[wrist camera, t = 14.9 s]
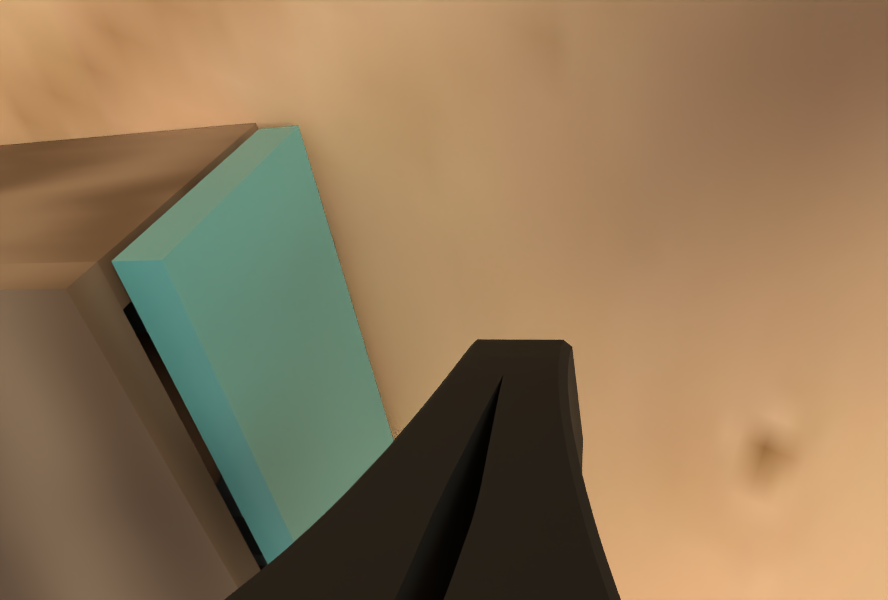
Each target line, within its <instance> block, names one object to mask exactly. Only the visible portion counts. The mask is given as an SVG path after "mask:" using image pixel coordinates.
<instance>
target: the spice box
mask: <svg viewBox="0 0 888 600" xmlns="http://www.w3.org/2000/svg"><path fill="white" fill-rule="evenodd" d="M257 130H258V129H257V126H256V123H252V124H240V125H229V126H218V127H206V128H195V129H184V130H172V131H161V132H149V133H138V134H127V135H115V136H104V137H93V138H81V139H70V140H59V141H47V142H36V143H24V144H13V145H2V146H0V600H224V599H226V598H227V597H228V596H229V595H231V594H232V593H233V592H234V591H236V590H237V589H238V588H239V587H241V586H242V585H243V584H244V583H246V582H247V581H248V580H249V579H251V578H252V577H253V576H254V575H256V574H257V573H258V572H259V571H260V570H262V569H263V568H264V567H265V566H262V565H258V564H257V562H256V560H255V559H254V557H253V555H252V553H251V551H250V549H249V547H248V545H247V544H246V542H245V540H244V538H243V536H242V534H241V532H240V530H239V528H238V527H237V525H236V523H235V521H234V519H233V517H232V515H231V513H230V511H229V510H228V508H227V506H226V504H225V502H224V500H223V498H222V496H221V494H220V493H219V491H218V489H217V487H216V485H215V483H214V481H213V479H212V477H211V476H210V474H209V472H208V470H207V468H206V466H205V464H204V462H203V461H202V459H201V457H200V455H199V453H198V451H197V449H196V447H195V445H194V444H193V442H192V440H191V438H190V436H189V434H188V432H187V430H186V428H185V427H184V425H183V423H182V421H181V419H180V417H179V415H178V413H177V411H176V410H175V408H174V406H173V404H172V402H171V400H170V398H169V396H168V394H167V393H166V391H165V389H164V387H163V385H162V383H161V381H160V379H159V377H158V376H157V374H156V372H155V370H154V368H153V366H152V364H151V362H150V361H149V359H148V357H147V355H146V353H145V351H144V349H143V347H142V345H141V344H140V342H139V340H138V338H137V336H136V334H135V332H134V330H133V328H132V327H131V325H130V323H129V321H128V319H127V317H126V315H125V313H124V311H123V309H124V308H125V307H126V306H127V305H128V304H129V303H130V302H131V299H130V297H129V295H128V293H127V291H126V289H125V287H124V285H123V283H122V281H121V279H120V277H119V275H118V273H117V272H116V270H115V268H114V266H113V264H112V262H111V261H112V260H113V259H114V258H115V257H117V256H118V255H119V254H120V253H121V252H122V251H123V250H124V249H126V248H127V247H128V246H129V245H130V244H131V243H132V242H133V241H134V240H136V239H137V238H138V237H139V236H140V235H141V234H142V233H143V232H145V231H146V230H147V229H148V228H149V227H150V226H151V225H152V224H153V223H155V222H156V221H157V220H158V219H159V218H160V217H161V216H162V215H163V214H165V213H166V212H167V211H168V210H169V209H170V208H171V207H172V206H174V205H175V204H176V203H177V202H178V201H179V200H180V199H181V198H182V197H184V196H185V195H186V194H187V193H188V192H189V191H190V190H191V189H193V188H194V187H195V186H196V185H197V184H198V183H199V182H200V181H201V180H203V179H204V178H205V177H206V176H207V175H208V174H209V173H210V172H211V171H213V170H214V169H215V168H216V167H217V166H218V165H219V164H220V163H222V162H223V161H224V160H225V159H226V158H227V157H228V156H229V155H230V154H232V153H233V152H234V151H235V150H236V149H237V148H238V147H239V146H241V145H242V144H243V143H244V142H245V141H246V140H247V139H248V138H249V137H251V136H252V135H253V134H254V133H255V132H256V131H257Z"/></svg>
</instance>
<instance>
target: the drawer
mask: <svg viewBox="0 0 888 600" xmlns="http://www.w3.org/2000/svg"><path fill="white" fill-rule="evenodd" d="M111 262H112V264H113V266H114V268H115V270H116V272H117V273H118V275H119V277H120V279H121V281H122V283H123V285H124V287H125V289H126V291H127V293H128V295H129V297H130V299H131V302H130V303H129V304H128V305H127V306H126V307H125V308H124V309H123V311H124V313H125V315H126V317H127V319H128V321H129V323H130V325H131V327H132V328H133V330H134V332H135V334H136V333H148V334H149V335H150V337H151V339H152V341H153V343H154V345H155V347H156V349H157V351H158V353H159V355H160V357H161V359H162V361H163V363H164V364H165V366H166V368H167V370H168V372H169V374H170V376H171V378H172V380H173V382H174V384H175V386H176V388H177V390H178V392H179V394H180V395H181V397H182V399H183V401H184V403H185V405H186V407H187V409H188V411H189V413H190V415H191V417H192V419H193V421H194V423H195V424H196V426H197V428H198V430H199V432H200V434H201V436H202V438H203V440H204V442H205V444H206V446H207V448H208V450H209V452H210V454H211V455H212V457H213V459H214V461H215V463H216V465H217V467H218V469H219V471H220V473H221V475H222V477H221V479H220V481H219V482H218V484H217V485H216V487H217V489H218V491H219V493H220V494H221V496H222V498H223V500H224V502H225V504H226V506H227V508H228V510H229V511H230V513H231V515H232V517H233V519H234V521H235V523H236V525H237V527H238V528H239V530H240V532H241V534H242V536H243V538H244V540H245V542H246V544H247V545H248V547H249V549H250V551H251V553H252V555H253V557H254V559H255V560H256V562H257V564H258V565H262V566H266V565H268V564H269V563H270V562H271V561H272V560H274V559H275V558H276V557H277V556H279V555H280V554H281V553H282V552H283V551H284V550H285V549H287V548H288V547H289V546H290V545H291V544H292V543H293V542H294V541H295V540H296V539H298V538H299V537H300V536H301V535H302V534H303V533H304V532H305V531H306V530H308V529H309V528H310V527H311V526H312V525H313V524H314V523H315V522H316V521H317V520H318V519H319V518H320V517H321V516H322V515H324V514H325V513H326V512H327V511H328V510H329V509H330V508H331V507H332V506H333V505H334V504H335V503H336V502H337V501H338V500H339V499H340V498H341V497H342V496H343V495H344V494H345V493H346V492H347V491H348V490H349V489H350V488H351V486H352V485H353V484H354V483H355V482H356V481H357V480H358V479H359V478H360V477H361V476H362V475H363V474H364V473H365V472H366V471H367V469H368V468H369V467H370V466H371V465H372V464H373V463H374V462H375V461H376V460H377V459H378V458H379V457H380V456H381V455H382V454H383V452H384V451H385V450H386V449H387V448H388V447H389V446H390V445H391V443H392V442H393V441H394V440H393V437H392V434H391V430H390V427H389V424H388V421H387V417H386V414H385V411H384V407H383V404H382V401H381V397H380V394H379V391H378V387H377V384H376V381H375V378H374V374H373V371H372V368H371V364H370V361H369V358H368V354H367V351H366V348H365V344H364V341H363V338H362V335H361V331H360V328H359V325H358V321H357V318H356V315H355V311H354V308H353V305H352V301H351V298H350V295H349V292H348V288H347V285H346V282H345V278H344V275H343V272H342V268H341V265H340V262H339V259H338V255H337V252H336V249H335V245H334V242H333V239H332V235H331V232H330V229H329V225H328V222H327V219H326V216H325V212H324V209H323V206H322V202H321V199H320V196H319V192H318V189H317V186H316V182H315V179H314V176H313V173H312V169H311V166H310V163H309V159H308V156H307V153H306V149H305V146H304V143H303V139H302V136H301V133H300V130H299V126H288V127H276V128H264V129H258V130H257V131H256V132H255V133H254V134H253V135H252V136H251V137H249V138H248V139H247V140H246V141H245V142H244V143H243V144H242V145H241V146H239V147H238V148H237V149H236V150H235V151H234V152H233V153H232V154H230V155H229V156H228V157H227V158H226V159H225V160H224V161H223V162H222V163H220V164H219V165H218V166H217V167H216V168H215V169H214V170H213V171H211V172H210V173H209V174H208V175H207V176H206V177H205V178H204V179H203V180H201V181H200V182H199V183H198V184H197V185H196V186H195V187H194V188H193V189H191V190H190V191H189V192H188V193H187V194H186V195H185V196H184V197H182V198H181V199H180V200H179V201H178V202H177V203H176V204H175V205H174V206H172V207H171V208H170V209H169V210H168V211H167V212H166V213H165V214H163V215H162V216H161V217H160V218H159V219H158V220H157V221H156V222H155V223H153V224H152V225H151V226H150V227H149V228H148V229H147V230H146V231H145V232H143V233H142V234H141V235H140V236H139V237H138V238H137V239H136V240H134V241H133V242H132V243H131V244H130V245H129V246H128V247H127V248H126V249H124V250H123V251H122V252H121V253H120V254H119V255H118V256H117V257H115V258H114V259H113V260H112V261H111Z"/></svg>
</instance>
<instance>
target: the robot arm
mask: <svg viewBox="0 0 888 600" xmlns="http://www.w3.org/2000/svg"><path fill="white" fill-rule="evenodd" d="M582 453H583V436H582V427H581V419H580V410H579V402H578V393H577V384H576V376H575V367H574V359H573V350H572V346H570V345H569V344H568V343H567V342H565V341H564V340H476V341H475V342H474V343H473V344H472V345H471V347H470V348H469V349H468V350H467V352H466V353H465V354H464V355H463V357H462V358H461V359H460V361H459V362H458V363H457V364H456V366H455V367H454V368H453V370H452V371H451V372H450V373H449V375H448V376H447V377H446V378H445V380H444V381H443V382H442V384H441V385H440V386H439V387H438V389H437V390H436V391H435V392H434V393H433V395H432V396H431V397H430V398H429V400H428V401H427V402H426V403H425V405H424V406H423V407H422V408H421V409H420V411H419V412H418V413H417V414H416V415H415V416H414V418H413V419H412V420H411V421H410V422H409V424H408V425H407V426H406V427H405V428H404V429H403V431H402V432H401V433H400V434H399V435H398V436H397V438H396V439H395V440H394V441H393V442H392V443H391V445H390V446H389V447H388V448H387V449H386V450H385V451H384V452H383V454H382V455H381V456H380V457H379V458H378V459H377V460H376V461H375V462H374V463H373V464H372V465H371V466H370V467H369V468H368V469H367V471H366V472H365V473H364V474H363V475H362V476H361V477H360V478H359V479H358V480H357V481H356V482H355V483H354V484H353V485H352V486H351V488H350V489H349V490H348V491H347V492H346V493H345V494H344V495H343V496H342V497H341V498H340V499H339V500H338V501H337V502H336V503H335V504H334V505H333V506H332V507H331V508H330V509H329V510H328V511H327V512H326V513H325V514H324V515H322V516H321V517H320V518H319V519H318V520H317V521H316V522H315V523H314V524H313V525H312V526H311V527H310V528H309V529H308V530H306V531H305V532H304V533H303V534H302V535H301V536H300V537H299V538H298V539H296V540H295V541H294V542H293V543H292V544H291V545H290V546H289V547H288V548H287V549H285V550H284V551H283V552H282V553H281V554H280V555H279V556H277V557H276V558H275V559H274V560H272V561H271V562H270V563H269V564H268V565H266V566H265V567H264V568H263V569H262V570H260V571H259V572H258V573H257V574H256V575H254V576H253V577H252V578H251V579H249V580H248V581H247V582H246V583H244V584H243V585H242V586H241V587H239V588H238V589H237V590H236V591H234V592H233V593H232V594H231V595H229V596H228V597H227V598H226V599H224V600H621V599H620V596H619V594H618V591H617V588H616V585H615V582H614V579H613V576H612V573H611V570H610V568H609V565H608V562H607V559H606V556H605V553H604V550H603V546H602V543H601V540H600V537H599V534H598V530H597V527H596V524H595V520H594V517H593V513H592V510H591V506H590V502H589V499H588V495H587V492H586V488H585V484H584V480H583V476H582Z"/></svg>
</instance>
